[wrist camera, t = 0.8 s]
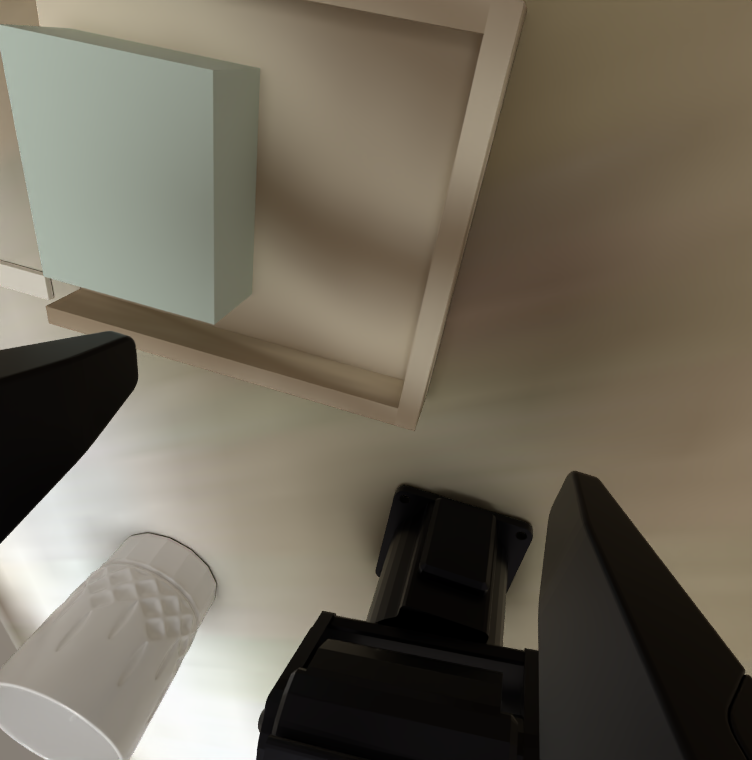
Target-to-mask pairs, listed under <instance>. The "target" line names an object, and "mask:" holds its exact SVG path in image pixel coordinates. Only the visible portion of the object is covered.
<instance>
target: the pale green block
mask: <svg viewBox="0 0 752 760" xmlns="http://www.w3.org/2000/svg"><path fill="white" fill-rule="evenodd" d="M0 51H1V56H2V61H3V66H4V71H5V77H6V82H7V87H8V92H9V98H10V103H11V108H12V113H13V118H14V124H15V129H16V134H17V139H18V145H19V150H20V155H21V160H22V165H23V171H24V176H25V181H26V186H27V192H28V197H29V202H30V207H31V212H32V218H33V223H34V228H35V233H36V239H37V244H38V249H39V254H40V259H41V265H42V270H43V275H44V277H47V278H51V279H54V280H58V281H61V282H65V283H68V284H72V285H75V286H79V287H82V288H86V289H89V290H93V291H97V292H100V293H104V294H107V295H111V296H114V297H118V298H121V299H125V300H128V301H132V302H136V303H139V304H143V305H146V306H150V307H153V308H157V309H160V310H164V311H167V312H171V313H175V314H178V315H182V316H185V317H189V318H192V319H196V320H199V321H203V322H206V323H210V324H213V325H215V324H216V323H217V322H218V321H220V320H221V319H222V318H223V317H225V316H226V315H227V314H228V313H229V312H231V311H232V310H233V309H234V308H236V307H237V306H238V305H239V304H240V303H242V302H243V301H244V300H245V299H247V298H248V297H249V296H250V295H251V294H252V280H253V253H254V225H255V198H256V171H257V143H258V116H259V88H260V68H256V67H252V66H247V65H242V64H237V63H233V62H228V61H223V60H218V59H214V58H209V57H204V56H199V55H195V54H190V53H185V52H180V51H176V50H171V49H166V48H161V47H157V46H152V45H147V44H142V43H138V42H133V41H128V40H123V39H119V38H114V37H109V36H104V35H100V34H95V33H90V32H85V31H81V30H76V29H71V28H58V27H41V26H25V25H8V24H0Z"/></svg>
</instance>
